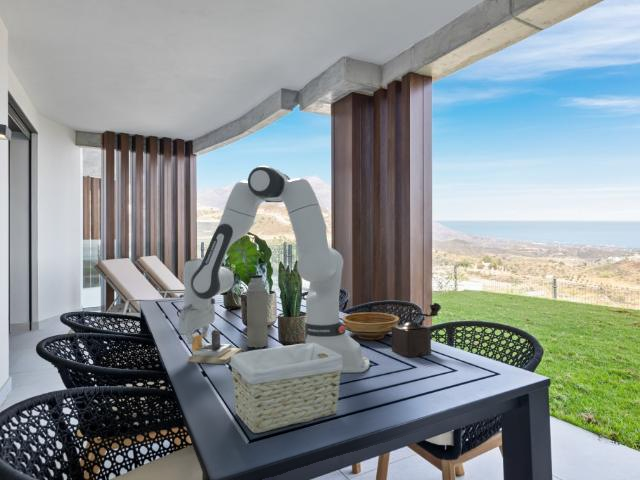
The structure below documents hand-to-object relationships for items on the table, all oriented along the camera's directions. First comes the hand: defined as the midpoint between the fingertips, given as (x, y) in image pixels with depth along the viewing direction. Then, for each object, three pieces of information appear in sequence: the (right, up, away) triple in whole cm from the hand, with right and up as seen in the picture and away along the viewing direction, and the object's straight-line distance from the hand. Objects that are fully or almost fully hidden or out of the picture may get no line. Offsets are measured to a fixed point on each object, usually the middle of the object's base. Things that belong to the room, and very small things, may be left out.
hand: (197, 340), depth 151 cm
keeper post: (+7, -6, -1) cm, 9 cm away
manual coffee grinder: (+80, -5, +1) cm, 80 cm away
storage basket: (+36, -6, -50) cm, 62 cm away
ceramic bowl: (+66, -5, +26) cm, 71 cm away
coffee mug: (-18, -6, +49) cm, 52 cm away
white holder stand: (+4, -4, -1) cm, 6 cm away
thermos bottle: (+20, -6, +14) cm, 25 cm away
